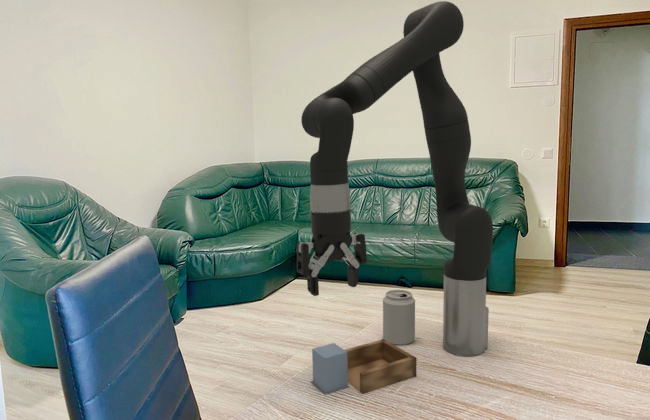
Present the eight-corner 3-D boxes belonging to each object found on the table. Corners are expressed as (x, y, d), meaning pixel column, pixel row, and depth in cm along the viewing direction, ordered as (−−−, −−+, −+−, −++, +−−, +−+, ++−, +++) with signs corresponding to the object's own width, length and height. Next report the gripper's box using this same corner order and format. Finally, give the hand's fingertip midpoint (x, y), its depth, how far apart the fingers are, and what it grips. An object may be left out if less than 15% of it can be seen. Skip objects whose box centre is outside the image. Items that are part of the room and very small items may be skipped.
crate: (383, 358, 111) (383, 339, 110) (416, 378, 101) (416, 357, 101) (333, 373, 104) (332, 353, 104) (362, 396, 95) (362, 374, 94)
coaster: (333, 377, 103) (333, 374, 103) (349, 389, 98) (349, 386, 97) (310, 384, 100) (310, 381, 100) (325, 397, 95) (325, 394, 95)
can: (414, 348, 115) (414, 298, 113) (381, 346, 117) (381, 297, 115) (415, 336, 122) (415, 288, 121) (384, 334, 124) (384, 287, 122)
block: (334, 375, 102) (333, 342, 101) (347, 385, 98) (347, 352, 97) (313, 382, 100) (312, 348, 99) (325, 392, 95) (324, 358, 94)
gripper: (351, 201, 101) (353, 279, 104) (287, 209, 94) (291, 292, 96) (373, 205, 95) (375, 288, 97) (306, 214, 88) (310, 303, 90)
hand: (333, 290), depth 97 cm, fingers open, 8 cm apart
